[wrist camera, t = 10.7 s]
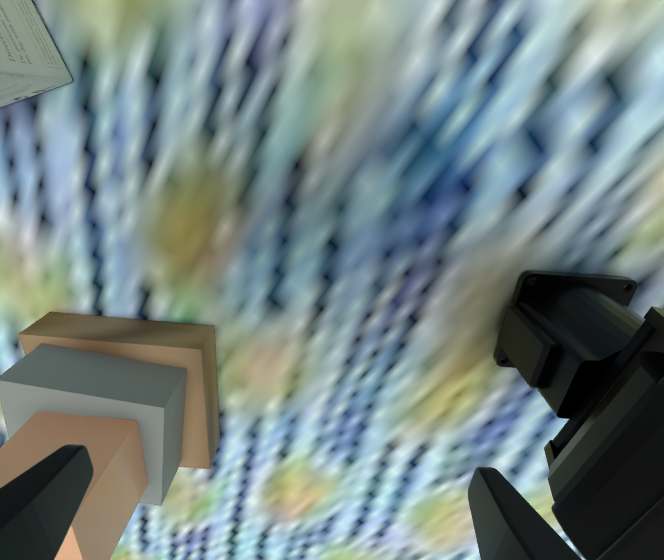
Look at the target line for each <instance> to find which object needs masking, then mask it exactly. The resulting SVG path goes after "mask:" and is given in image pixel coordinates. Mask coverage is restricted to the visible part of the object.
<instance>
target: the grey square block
mask: <svg viewBox="0 0 664 560" xmlns="http://www.w3.org/2000/svg"><path fill="white" fill-rule="evenodd" d="M186 376H187V369H185V368H179V367H173V366H168V365H162V364H157V363H151V362H146V361H140V360H134V359H129V358H123V357H118V356H112V355H106V354H101V353H95V352H90V351H84V350H78V349H73V348H67V347H62V346H56V345H51V344H45V343H41V344H40V345H39V346H37V347H36V348H35V349H34V350H32V351H31V352H30V353H29V354H27V355H26V356H25V357H23V358H22V359H21V360H20V361H18V362H17V363H16V364H15V365H13V366H12V367H11V368H9V369H8V370H7V371H6V372H4V373H3V374H2V375H0V402H1V407H2V411H3V415H4V420H5V424H6V428H7V432H8V437H9V439H10V438H11V437H12V436H13V435H14V434H15V433H16V432H17V431H18V430H19V429H20V428H21V427H22V426H23V425H24V424H25V423H26V422H27V421H28V420H29V419H30V418H31V417H32V416H33V415H34V414H35V413H36V412H37V411H38V412H49V413H60V414H71V415H82V416H93V417H104V418H115V419H126V420H136V421H138V427H139V433H140V439H141V445H142V452H143V458H144V464H145V470H146V476H147V482H148V485H147V487H146V489H145V491H144V493H143V495H142V497H141V499H140V501H139V503H144V504H151V505H158V506H161V505H162V503H163V501H164V499H165V496H166V494H167V492H168V490H169V487H170V485H171V483H172V481H173V478H174V476H175V474H176V472H177V469H178V467H179V465H180V462H181V455H182V439H183V423H184V407H185V392H186Z"/></svg>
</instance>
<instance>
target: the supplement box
mask: <svg viewBox="0 0 664 560" xmlns="http://www.w3.org/2000/svg"><path fill="white" fill-rule="evenodd" d="M70 82H72V78H71V76H70V74H69V72H68V70H67V68H66V66H65V64H64V62H63V61H62V59H61V57H60V55H59V53H58V51H57V49H56V47H55V45H54V43H53V41H52V39H51V37H50V35H49V34H48V32H47V30H46V28H45V26H44V24H43V22H42V20H41V18H40V16H39V15H38V13H37V11H36V9H35V7H34V5H33V3H32V1H31V0H0V107H3V106H6V105H9V104H11V103H14V102H17V101H20V100H23V99H26V98H29V97H31V96H34V95H37V94H40V93H42V92H46V91H48V90H51V89H53V88H56V87H60V86H62V85H65V84H68V83H70Z"/></svg>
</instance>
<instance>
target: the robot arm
mask: <svg viewBox="0 0 664 560" xmlns="http://www.w3.org/2000/svg"><path fill="white" fill-rule="evenodd" d="M530 278H533V279H532V281H531V282H528V283H527V281H528V279H530ZM625 285H627V286H626V287H625V288H624V286H625ZM636 288H637V283H636V282H635V281H634V280H632V279H630V278H627V277H617V276H602V275H587V274H573V273H558V272H544V271H526V272H524V273H523V274H522V275H521V277H520V279H519V282H518V285H517V288H516V291H515V294H514V297H513V300H512V303H511V305H510V306H509V307H508V309H507V312H506V316H505V319H504V322H503V325H502V328H501V331H500V334H499V337H498V345H497V348H496V352H495V355H494V360H495V362H496V363H497V365H499V366H501V367H513V368H517V369H518V371H519V372H520V374H521V375H522V376H523V378H524V379H525V381H526V382H527V384H528V385H529V386H530V387H531V388H535V389H538V391H539V392H540V393H541V395H542V396H543V397H544V399H545V400H546V402H547V403H548V404H549V406H550V407H551V408H552V410H553V411H554V413H555V414H556V415H557V417H559V418H566V419H569V420H568V421H567V423H566V424H565V425H564V427H563V428H562V429H561V430H560V432H559V433H558V434H557V436H556V437H555V438H554V440H550V441H549V442H548V443H547V445H546V446H545V447H544V450H545V454H546V458H547V462H548V466H549V476H548V481H549V485H550V489H551V492H552V496H553V499H554V502H555V503H554V504H553V505H552V511H553V514H554V516H555V517H556V519H557V521H558V523H559V524H560V526H561V528H562V529H563V531H564V533H565V535H566V536H567V537H568V539H569V540H570V541H571V543H572V544H573V545H574V547H575V548H576V549H577V551H578V552H579V553H580V554H581V555H582V557H583V558H584V559H585V560H664V309H661V308H657V307H653V306H652V307H651V308H650V310H649V311H648V312H647V314H646V315H645V316H644V318H645V319H644V318H643V317H641V316H639V315H638V314H636V313H635V312H633V311H632V310H630V309H629V308H627V307H628V305H629V303H630V301H631V299H632V297H633V295H634V293H635V291H636ZM503 357H505V358H504V359H503V360H501V359H502V358H503ZM93 473H94V468H93V464H92V461H91V458H90V455H89V452H88V449H87V447H86V446H84V445H77V444H67V445H64V446H62V447H60V448H59V449H57V450H56V451H54V452H53V453H51V454H50V455H48V456H47V457H45V458H44V459H42V460H41V461H39V462H38V463H36V464H35V465H33V466H32V467H31V468H29V469H28V470H26V471H25V472H23V473H22V474H20V475H19V476H17V477H16V478H14V479H13V480H11V481H10V482H8V483H7V484H5V485H4V486H2V487H1V488H0V560H54V559H55V557H56V556H57V554H58V552H59V549H60V547H61V545H62V543H63V541H64V539H65V537H66V535H67V533H68V530H69V528H70V526H71V524H72V522H73V520H74V517H75V515H76V513H77V511H78V509H79V507H80V504H81V502H82V500H83V498H84V496H85V493H86V491H87V489H88V487H89V485H90V483H91V480H92V478H93ZM468 500H469V505H470V510H471V515H472V519H473V524H474V529H475V534H476V538H477V543H478V548H479V553H480V557H481V560H582V559H581V558H580V557H579V556H578V555H577V554H576V553H575V552H574V551H573V550H572V549H571V548H570V547H569V546H568V545H567V543H566V542H565V541H564V540H563V539H562V538H561V537H560V536H559V535H558V534H557V533H556V532H555V531H554V530H553V529H552V528H551V526H550V525H549V524H548V523H547V522H546V521H545V520H544V519H543V518H542V517H541V516H540V515H539V514H538V513H537V512H536V511H535V509H534V508H533V507H532V506H531V505H530V504H529V503H528V502H527V501H526V500H525V499H524V498H523V497H522V496H521V495H520V494H519V492H518V491H517V490H516V489H515V488H514V487H513V486H512V485H511V484H510V483H509V482H508V481H507V480H506V479H505V478H504V477H503V475H502V474H501V473H500V472H499V471H498V470H496V469H495V468H492V467H477V468H476V469H475V472H474V474H473V477H472V480H471V483H470V485H469V488H468Z"/></svg>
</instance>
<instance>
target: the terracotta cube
mask: <svg viewBox="0 0 664 560" xmlns="http://www.w3.org/2000/svg"><path fill="white" fill-rule="evenodd" d="M67 444H77V445H84V446H86V447H87V449H88V452H89V455H90V458H91V461H92V464H93V468H94V473H93V478H92V480H91V483H90V485H89V487H88V489H87V491H86V493H85V496H84V498H83V500H82V502H81V504H80V507H79V509H78V511H77V513H76V515H75V517H74V520H73V522H72V524H71V526H70V528H69V530H68V533H67V535H66V537H65V539H64V541H63V543H62V545H61V547H60V549H59V552H58V554H57V556H56V557H55V559H54V560H110V558H111V556H112V554H113V552H114V550H115V548H116V546H117V544H118V542H119V540H120V538H121V536H122V534H123V532H124V530H125V528H126V526H127V524H128V522H129V520H130V519H131V517H132V515H133V513H134V511H135V509H136V507H137V505H138V503H139V501H140V499H141V497H142V495H143V493H144V491H145V489H146V487H147V485H148V482H147V476H146V470H145V464H144V458H143V452H142V445H141V439H140V433H139V427H138V421H136V420H126V419H115V418H104V417H93V416H82V415H71V414H60V413H49V412H38V411H37V412H36V413H35V414H34V415H33V416H32V417H31V418H30V419H29V420H28V421H27V422H26V423H25V424H24V425H23V426H22V427H21V428H20V429H19V430H18V431H17V432H16V433H15V434H14V435H13V436H12V437H11V438H10V439H9V440H8V441H7V442H6V443H5V444H4V445H3V446H2V447H1V448H0V488H1V487H2V486H4V485H5V484H7V483H8V482H10V481H11V480H13V479H14V478H16V477H17V476H19V475H20V474H22V473H23V472H25V471H26V470H28V469H29V468H31V467H32V466H33V465H35V464H36V463H38V462H39V461H41V460H42V459H44V458H45V457H47V456H48V455H50V454H51V453H53V452H54V451H56V450H57V449H59V448H60V447H62V446H64V445H67Z"/></svg>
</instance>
